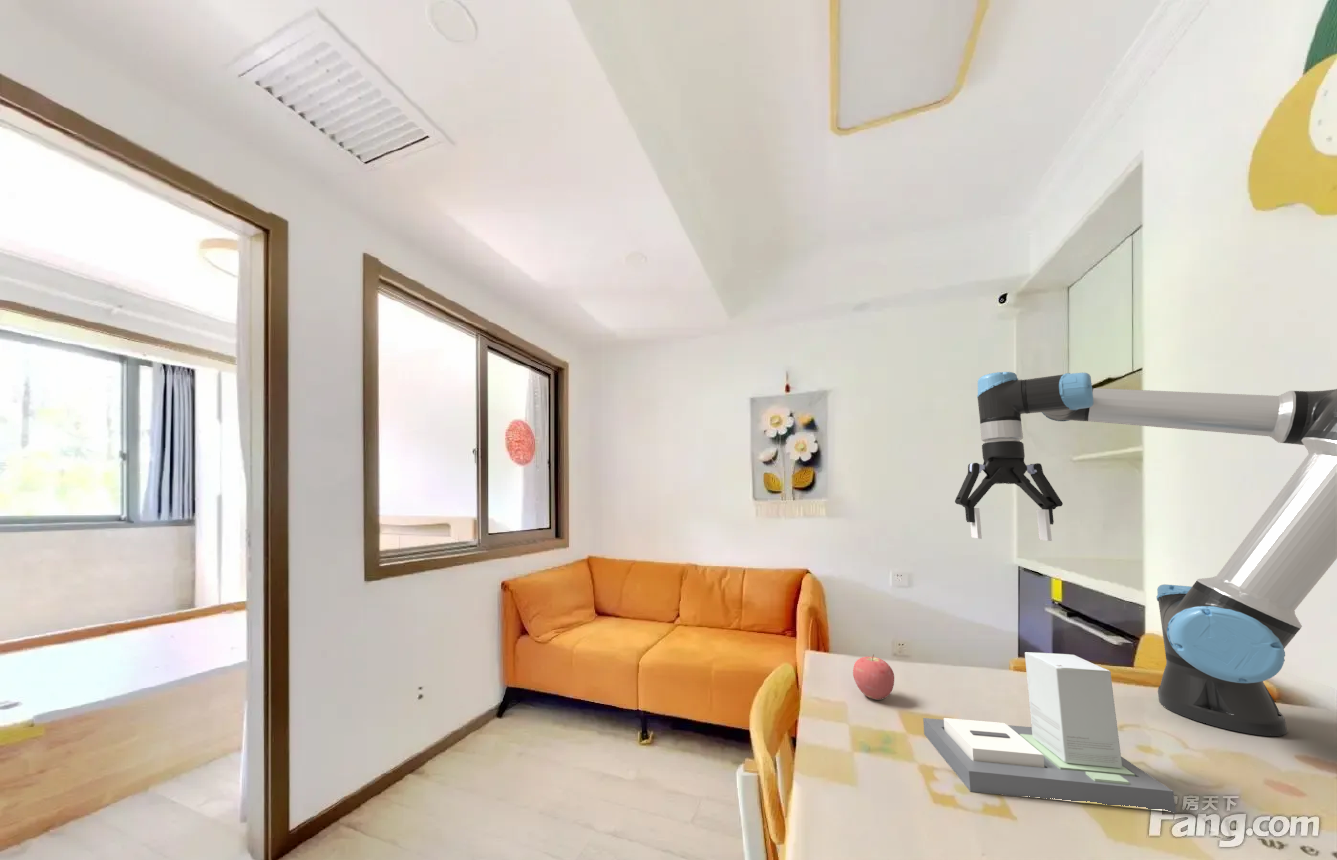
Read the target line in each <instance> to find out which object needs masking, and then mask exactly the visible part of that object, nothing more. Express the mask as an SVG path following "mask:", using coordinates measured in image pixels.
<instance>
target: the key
mask: <svg viewBox="0 0 1337 860" xmlns="http://www.w3.org/2000/svg"><path fill="white" fill-rule="evenodd" d="M1020 736H1021V737H1022V738H1024V739H1025V740H1026V741H1027V742H1028V743H1030V744H1031V745H1032V746H1033V747H1034V748H1036V749H1037V750H1038V751H1039V752H1040V753H1042V754H1043V756H1044V757H1045V758H1047V759H1048V760H1049V761H1050V762H1051V763H1053V764H1054V765H1055V766H1056V767H1057V768H1059V769H1062V770H1072V771H1083V772H1085V771H1086V772H1096V773H1107V774H1117V775H1124V776H1135V774H1134V773H1132V772H1131V771H1129V770H1128V769H1126V768H1125V767H1123V766H1122V768H1112V767H1102V766H1092V765H1082V764H1073V763H1066V762H1064V761H1063V760H1062V759H1060V758H1059V757H1058V756H1056V755H1055V754H1054V753H1053V752H1051V751H1050V750H1049V749H1047V748H1046V747H1045V746H1044V745H1042V744H1041V743H1040V742H1038V741H1037V740H1036V739H1034V738H1033V736H1032V735H1028V734H1020Z"/></svg>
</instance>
